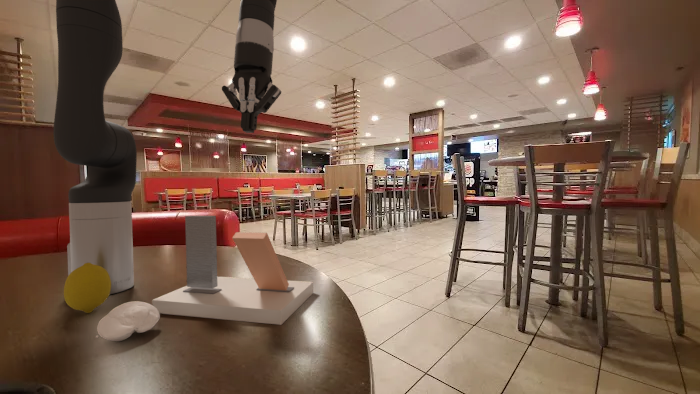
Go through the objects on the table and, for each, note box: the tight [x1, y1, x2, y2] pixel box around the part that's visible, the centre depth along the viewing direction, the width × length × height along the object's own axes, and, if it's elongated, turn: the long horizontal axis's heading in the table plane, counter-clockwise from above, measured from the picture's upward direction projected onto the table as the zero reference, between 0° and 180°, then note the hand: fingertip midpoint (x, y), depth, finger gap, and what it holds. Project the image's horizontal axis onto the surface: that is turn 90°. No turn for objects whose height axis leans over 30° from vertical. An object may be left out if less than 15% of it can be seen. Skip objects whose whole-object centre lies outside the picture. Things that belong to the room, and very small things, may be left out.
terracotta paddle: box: [232, 231, 289, 290], centre depth 45 cm, size 5×1×12 cm
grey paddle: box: [184, 215, 218, 288], centre depth 49 cm, size 5×1×12 cm, turn 77°
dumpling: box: [95, 300, 161, 342], centre depth 38 cm, size 7×5×4 cm
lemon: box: [63, 263, 111, 314], centre depth 45 cm, size 6×6×8 cm
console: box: [151, 275, 314, 326], centre depth 49 cm, size 22×13×2 cm, turn 77°
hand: (248, 132), depth 60 cm, fingers closed
